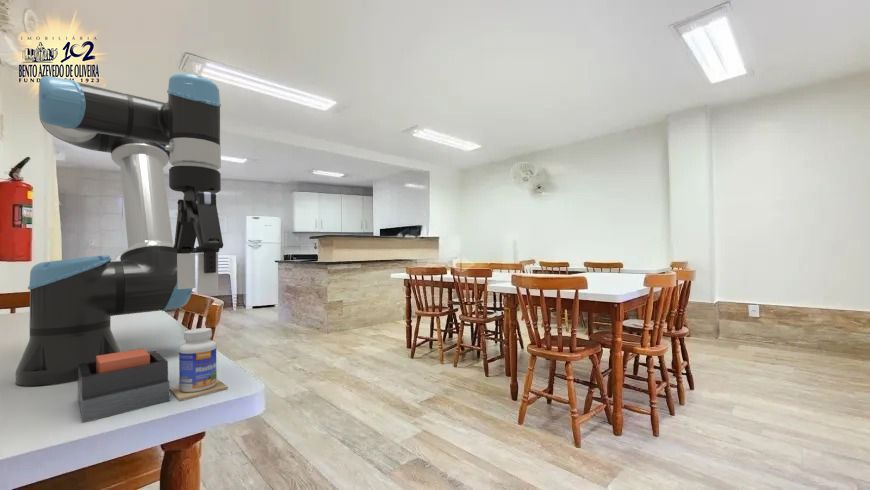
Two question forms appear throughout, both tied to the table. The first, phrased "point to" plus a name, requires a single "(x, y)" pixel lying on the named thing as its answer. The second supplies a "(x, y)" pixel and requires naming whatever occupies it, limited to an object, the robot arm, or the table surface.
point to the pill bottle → (197, 361)
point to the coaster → (187, 395)
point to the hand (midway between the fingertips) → (196, 291)
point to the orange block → (122, 360)
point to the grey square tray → (122, 388)
